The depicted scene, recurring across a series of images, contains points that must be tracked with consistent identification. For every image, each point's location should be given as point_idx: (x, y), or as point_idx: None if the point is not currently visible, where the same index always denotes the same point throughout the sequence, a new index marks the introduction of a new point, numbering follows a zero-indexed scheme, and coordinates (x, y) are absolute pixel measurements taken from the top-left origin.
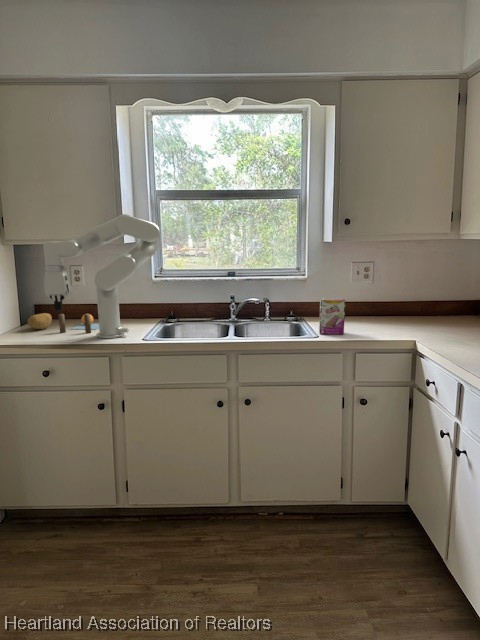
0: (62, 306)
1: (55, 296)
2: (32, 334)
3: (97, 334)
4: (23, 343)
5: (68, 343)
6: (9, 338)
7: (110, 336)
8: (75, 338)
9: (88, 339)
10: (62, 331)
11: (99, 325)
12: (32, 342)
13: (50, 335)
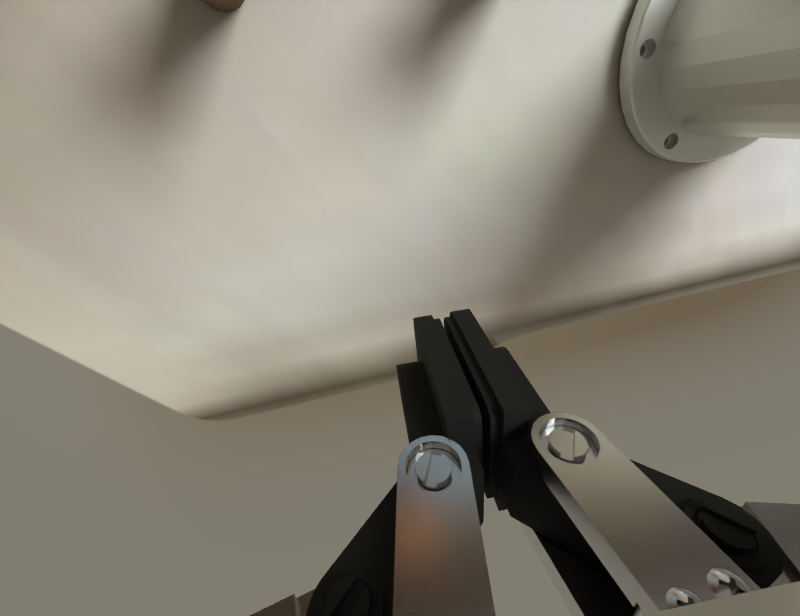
0: (509, 355)
1: (433, 585)
2: (8, 140)
3: (644, 114)
4: (249, 372)
5: (501, 312)
6: (5, 304)
7: (743, 147)
8: (482, 194)
9: (582, 201)
10: (232, 1)
11: (740, 108)
12: (280, 344)
13: (216, 142)
